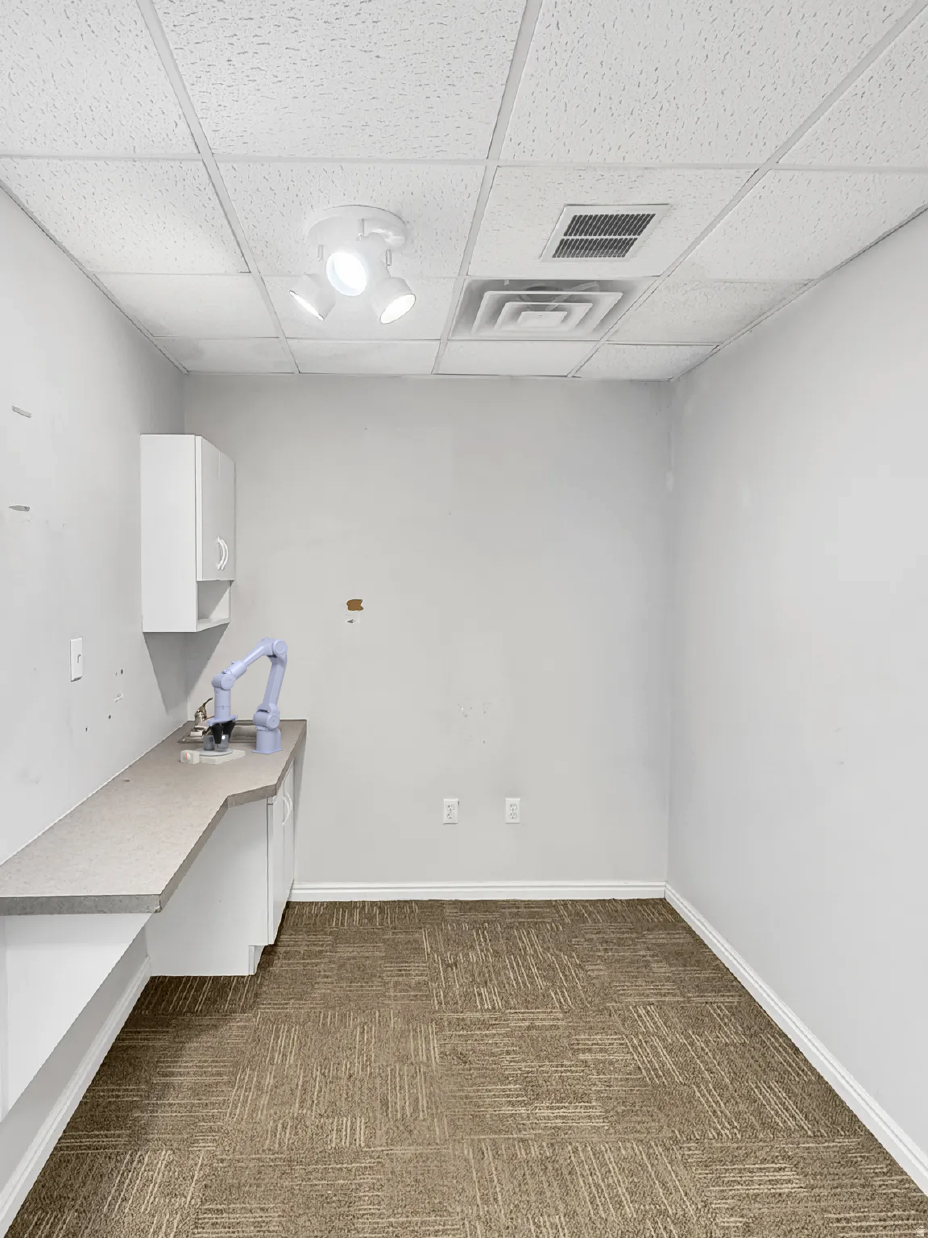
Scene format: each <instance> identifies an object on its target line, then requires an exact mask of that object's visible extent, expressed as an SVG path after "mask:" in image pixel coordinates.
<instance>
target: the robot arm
mask: <svg viewBox="0 0 928 1238" xmlns="http://www.w3.org/2000/svg"><path fill="white" fill-rule="evenodd" d="M288 649H289V646H288V645H287V643H286V641H285V640H284V639H283V638H274V637H273V638H271V637H268V636H267V637H262V638H261V639H260V641H257V643H256V645H255V646H254V647H253V648H251V650H250V651H249V652H248V653H247V654H245V656H244V657H243V658H242V659H240V660H239V659H236V660H233V661H231V664H230V665H228V666H227V667H226V668H225V669H222V670H221V672H220V673H216V674H215V675H214V676H213V677H212V680H211V681H210V682H211V683H210V684H211V686H212V687H213V692H214V697H213V698H214V709H213V710H214V715H213V716H212V718H210V719H208V720H206V726H207V727H208V728H209V730H210V731H211V733H212V734H211V735H213V737H214V741H215V745H217V744H221V736H222V733H226V734H228V743H229V742H230V740H231V736H232V733H233V730H234V728H235V726H237V725H236V724H237V723H236V721H238V716H239V715H238V714H231V705H232V704H231V702H232V701H231V700H232V699H231V695H232V693H231V691H232V689H233V687H234V685H235V684H236V683H235V682H236V681H237V680H238V679H240V677H242V676H243V675H245V673H247V671H248V670H247V669H248V667H249V666H251V664H253V663H254V662H256V661H257V660H258V659H260V658H262V657H263V656H266V657H267V658H268V659H269V660H270V663H271V667H270V671H269V674H268V679H267V682H266V687H265V692H264V694H263V700H262V702H261V703H260V704H259V705H258V706H257V708H256V711H255V712H254V713H253V716H252V723H253V725H255V729H256V738H255V739H256V743H255V744H256V748H255V749H253V750H251V751H250V752H251V753H256V754H262V755H263V754H264V755H270V754H275V753H277V752H280V751H283V749H284V748H282V733H281V730H280V729H279V728H278V727H279V725H280V723H281V722H280V720H281V719H280V713H281V710H280V709H279V707H278V702H279V697H280V693H281V690H282V689H281V688H282V685H283V680H284V676H285V673H286V668H287V665H288V655H287V653H288Z"/></svg>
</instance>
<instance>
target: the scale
mask: <svg viewBox="0 0 928 1238" xmlns="http://www.w3.org/2000/svg"><path fill="white" fill-rule="evenodd" d="M244 757H246V751H245V750H240V749H235V748H234V749H233V748H232V747H229V746H228V748H227V749H218V748H217V745H216V746H215V750H212V751H205V750H203V747H198V748H196V749H194V750H191V749H185V750H184V749H183V750H181V751H180V763H182V764H183V763H184V764H189V765H196V764H199V763H203V764H209V765H219V764H222V763H226V762H229V761H233V760H237V759H241V758H244Z"/></svg>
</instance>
